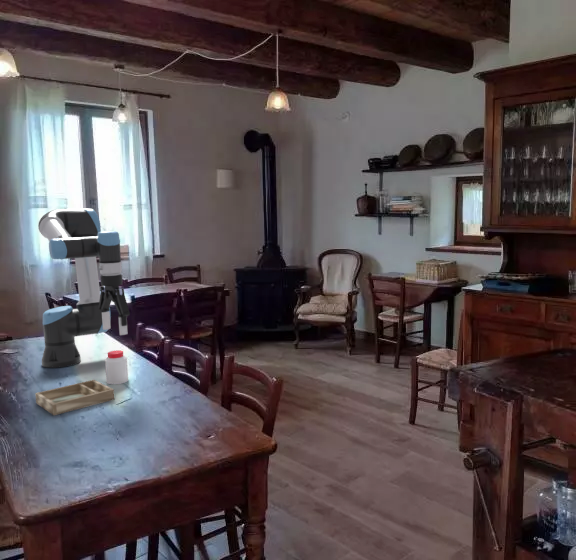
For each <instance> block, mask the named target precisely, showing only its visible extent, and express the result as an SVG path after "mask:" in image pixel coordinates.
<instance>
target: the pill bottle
mask: <svg viewBox="0 0 576 560" xmlns="http://www.w3.org/2000/svg"><path fill="white" fill-rule="evenodd" d="M104 364H105V365H104V367H105V380H106V383H107V384H108V385H120V384H121V385H122V384H124V383H127V382H129V372H128V371H129V369H128V358H127V356H125V355H124V350H110V351H108V352H107V357H105V360H104Z"/></svg>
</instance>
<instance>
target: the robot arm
mask: <svg viewBox="0 0 576 560" xmlns="http://www.w3.org/2000/svg"><path fill="white" fill-rule="evenodd" d="M101 227H102V226H101V221H100V218H99V214H98V213H97V212H96V210H94V209H93V208H85V207H83V208H62V209H61V208H58V209H57V208H56V209H53V210H50V211H48V212H46V213H45V214H44V215H42V216H41V217H40V220H39V221H38V231H39V233H40V235H41V236H43V237H44V238H45V239H47V240H48V242H49V243H48V249H49V250H48V251H49V255H50V258H51V259H52V260H68V259H74V262H75V263H74V264H75V270H76V271H75V272H76V279H77V281H76V282H77V288H78V297H79V298H78V299H79V300H78V302H77V303H76V305H75V306H76V308H73V306H71V305H64V306H63V305H61V306H58V307H57V306H56V307H53V308H49V309H47V310H45V311H44V312H43V313H42V326H43V327H42V328H43V337H44V338H43V339H44V340H43V341H44V350H43V353H42V357H41V366H42V367H43V368H49V369H51V368H52V369H54V368H65V367H69V366H70V367H71V366H74V365H77V364H79V363H80V362H81V354H80V351H79V350H78V347H77V345H76V340H75V339H76V338H75V337H82V336H90V335H99V334H102V333H106V332H107V331H108V330H110V329H111V327H112V326H111V317H112V316H111V315H112V314H111V308H110V306H111V303H113V304H114V306H115V308H116V310H117V313H118V316H117V318H118V331H119V336H125V335H128V320H127V318H128V317H129V316H130V313H131V311H130V310H129V306H128V302H127V298H126V296H125V289H124V288H120V286H121V285H123V275H122V274H121V273H122V271H123V269H122V258H121V239H120V233H119V232H118V231H116V230H115V231H113V230H112V231H111V230H110V231H102V229H101ZM97 257H98V261H99V266H98V264H97V263H98V262H97ZM98 269H99V271H98ZM99 273H100V281H99ZM100 285H101V286H100Z"/></svg>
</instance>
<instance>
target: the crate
mask: <svg viewBox="0 0 576 560" xmlns="http://www.w3.org/2000/svg"><path fill="white" fill-rule="evenodd" d="M34 396H35V404H36V405H38V406H40V407H41V408H42V409H43V410H45V411H46V412H48V413H50V414H51V415H52V416H57V415H61V414H65V413H68V412H69V413H70V412H72V411H76V410H77V411H78V410H81V409H83V408H84V409H85V408H88V407H91V406H96V405H98V404H99V405H100V404H103V403H107V402H110V401H115V399H116V398H115V389H114V388H112V387H110V386H109V385H108V386H107V385H106V384H104V383H102V382H100V381H97V380H95V379H91V380H86V381H81V382H76V383H73V384H70V385H65V386H61V387H57V388H52V389H47V390H43V391H40V392H39V391H38V392H36V393H35V394H34Z"/></svg>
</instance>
